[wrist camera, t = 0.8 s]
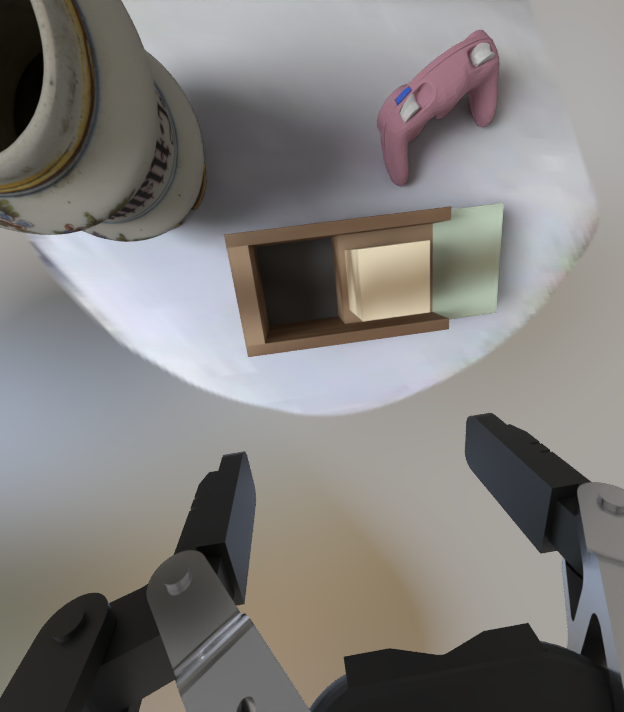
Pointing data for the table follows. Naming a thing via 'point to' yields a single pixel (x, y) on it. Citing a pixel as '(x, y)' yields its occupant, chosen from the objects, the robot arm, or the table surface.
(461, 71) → the video game controller
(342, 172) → the table surface
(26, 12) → the apothecary jar
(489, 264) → the channel
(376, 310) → the maple block
